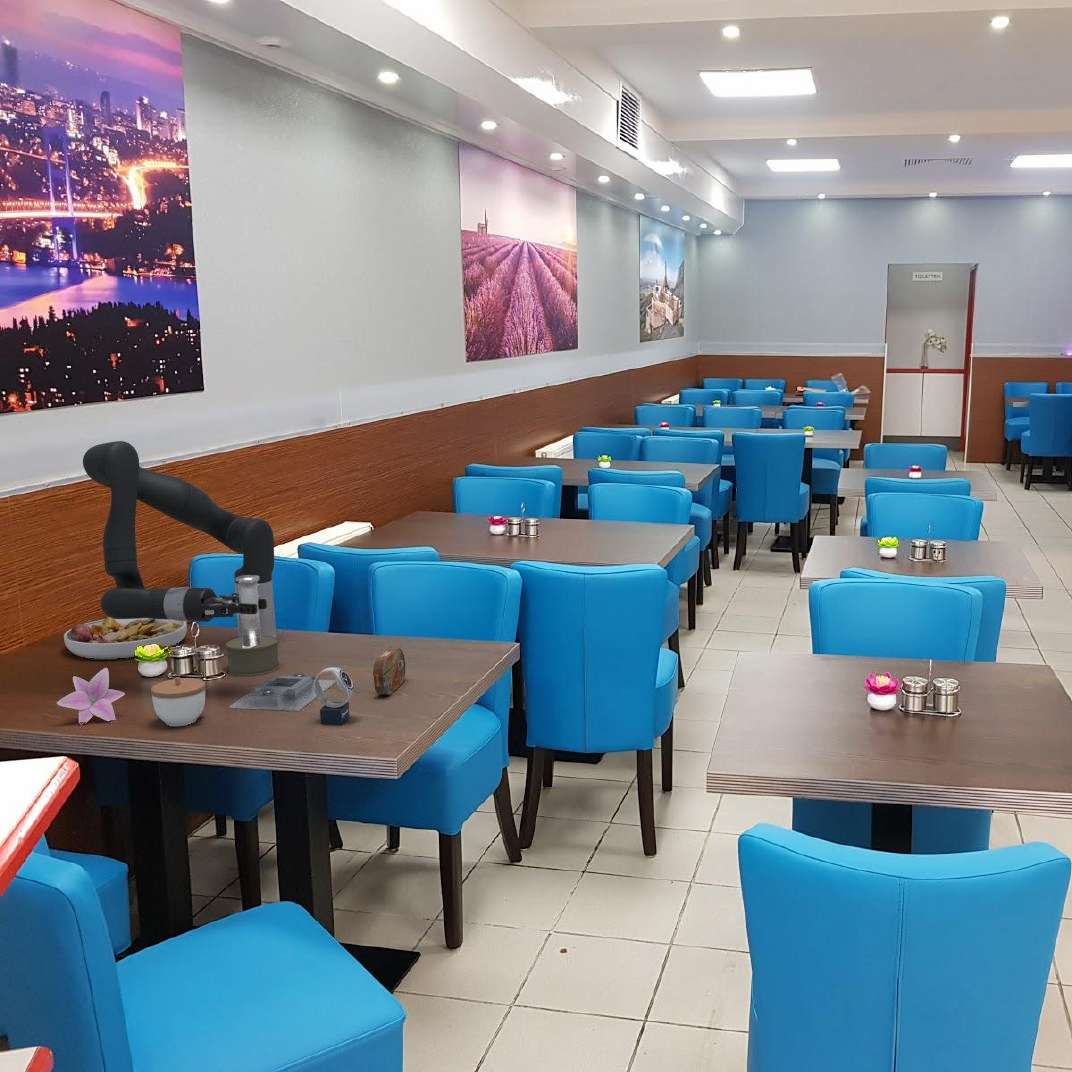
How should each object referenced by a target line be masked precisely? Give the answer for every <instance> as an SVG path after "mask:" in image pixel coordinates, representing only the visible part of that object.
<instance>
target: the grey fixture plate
mask: <svg viewBox="0 0 1072 1072" xmlns="http://www.w3.org/2000/svg"><path fill="white" fill-rule="evenodd" d="M315 678H316V675H315V674H305V673H303V672H299V673H294V674H292V673H291V674H288V675H287V676H286V675H272V676H271V677H270V678H269V677H268V679H266V680H265V681H263V682H262V683H261V684H259V685H257V686H256V687H255V688H254V689H253V690H251V691H250V692H248V693H247V694H245V695H244V696H242V697H241V698H239V699H238V700H236V701H234V702H233V703H231V705H229V706H228V708H229V709H236V708H237V709H239V710H257V711H258V710H260V711H261V710H262V711H264V710H265V711H284V712H286V711H287V712H300V711H302V710H303V709H304V708H306V707H307V706H308V705H310V703H312V702H314V701H315V700H316V699H318V698H317V696H316V694H315V691H314V689H313V688H314V680H315ZM318 682H319V684H320V686H321V688H322V691H323V692H324V693H325V692H326V691H327V690H328V688H329V687H330V688H331V687H333V686H334V685H335V684H337V682H336V680H335V679H334V680H333V679H332V680H331V679H318ZM333 684H334V685H333ZM330 688H329V689H330ZM315 698H316V699H315ZM307 704H308V705H307ZM306 705H307V706H306ZM237 709H236V710H237Z"/></svg>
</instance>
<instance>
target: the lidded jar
mask: <svg viewBox="0 0 1072 1072" xmlns="http://www.w3.org/2000/svg"><path fill="white" fill-rule="evenodd" d="M150 694H151V699H152V704H153V708H154V712H155V713H156V716H157V717H158V718H159V719H160V720H161V721H162V722H164V723H165V725H166V724H167V726H168V725H169V727H185V726H188V724H189V725H191V723H192V724H194V723H196V721H197V719H198V718H199V717H200V716H201V714H202V713H203V711H204V709H205V704H206V682H205V681H204V680H202V679H199V678H193V677H192V678H191V677H190V678H189V677H186V678H185V677H183V678H181V677H180V676H178V677H175V678H174V679H169V680H168V679H167V680H163V681H160V682H158V683H156V684H154V685H153V686H151V688H150ZM193 722H194V723H193Z"/></svg>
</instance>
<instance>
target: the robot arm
mask: <svg viewBox="0 0 1072 1072" xmlns="http://www.w3.org/2000/svg"><path fill="white" fill-rule="evenodd" d="M82 467H83V469H84V472H85V473H86V474H87V476H88V477H89V478H90V479H91V480H93V481H94V482H95V483H97V484H99V485H101V486H105V487H107V488H110V496H111V497H110V499H111V500H110V506H109V507H110V509H109V513H108V517H107V519H106V523H105V527H104V530H103V537H102V538H103V539H102V549H103V550H102V551H103V562H104V563H103V565H104V571H105V573H106V574H107V575H108V576H109V577H112V578H113V579H114V582H115V586H116V587H113V588H110V589H108V590H106V591H105V592H104V593H103V595H102V596H101V599H100V608H101V610H102V612H103V613H104V615H106V616H107V617H111V618H114V619H138V618H153V619H170V620H177V621H186V622H195V623H196V622H198V623H199V622H200V623H209V622H210V621H212V620H213V619H215V618H232V617H234V616H236V618H237V632H238V638H240V637H242V629H241V615H240V613H241V614H256V613H257V612H258V611H257V604H249V603H241V604H240V601H239V586H238V583H237V582H236V577H238V576H242V575H258V576H259V581H257V587H258V602H259V617H260V632H261V635H264V636H272V637H275V638H277V629H276V616H275V614H276V613H275V611H276V610H275V602H274V589H273V572H274V569H275V568H274V567H275V540H274V532H273V529H272V526H271V525H270V523H269V522H268V521H266V520H264V519H260V518H254V517H253V518H252V517H246V516H241V515H238V514H236V513H233V512H230V511H228V510H226V509H223V508H221V507H220V506H218V505H217V504H216V503H215V502H214V501H213V499H212V498H211V497H210V496H209V495H208V494H207V493H206V492H205V491H203V490H202V489H201V488H198V487H197V486H195V485H193V484H191V483H189V482H188V481H186V480H184V479H181V478H179V477H177V476H172V475H170V474H165V473H162V472H157V471H153V470H148V469H147V468H143V467H141V466H140V458H139V454H138V452H137V450H136V447H135V446H133V445H132V444H130V443H129V442H128V441H123V440H117V441H109V442H105V443H99V444H97V445H96V444H95V445H94V446H92V447H90V448H89V449H87V451H85V453H84V454H83V458H82ZM137 501H139V502H141V503H142V504H145V505H147V506H149V507H151V508H153V509H154V510H156V511H158V512H160V513H162V514H164V515H165V516H167V517H169V518H171V519H173V520H175V521H177V522H178V523H181V524H184V525H186V526H187V527H191V528H192V529H195V530H198V531H200V532H201V533H202V532H203V533H204V534H207V535H209V536H210V537H212V538H213V539H215V540H217V541H218V542H220V543H221V544H223V545H224V546H225V547H227V548H228V549H229V550H232V551H233V552H235V553H238V554H242V562H243V563H242V566H241V567H239V568H237V569H235V571H234V574H233V576H234V589H235V590H234V591H235V592H233V593H231V595H228V594H220V595H219V596H217V595H216V593H215V592H214V590H213V589H212V588H210V587H187V586H186V587H184V586H183V587H180V586H179V587H153V588H152V587H151V588H147V589H146V588H145V585H144V582H143V578H142V574H141V573H140V569H139V566H138V553H137V539H136V537H137V536H136V513H137Z"/></svg>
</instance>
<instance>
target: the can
mask: <svg viewBox="0 0 1072 1072" xmlns="http://www.w3.org/2000/svg"><path fill="white" fill-rule="evenodd" d="M278 642H279V639H278V638H277V637H276V638H275V637H272V636H264V635H261V644H260V645H257V646H243V643H242V637H240V638H239V637H236V638H233V639H230V640H228V641H227V642H226V643H225V648H226V652H227V653H226V654H227V663H228V664H227V665H228V673H229V674H230V675H232V676H237V677H256V676H257V677H258V676H264V675H268V674H271V672H272V673H274V672H276V671H278V670H279V667H280V666H279V651H278ZM273 671H274V672H273Z"/></svg>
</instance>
